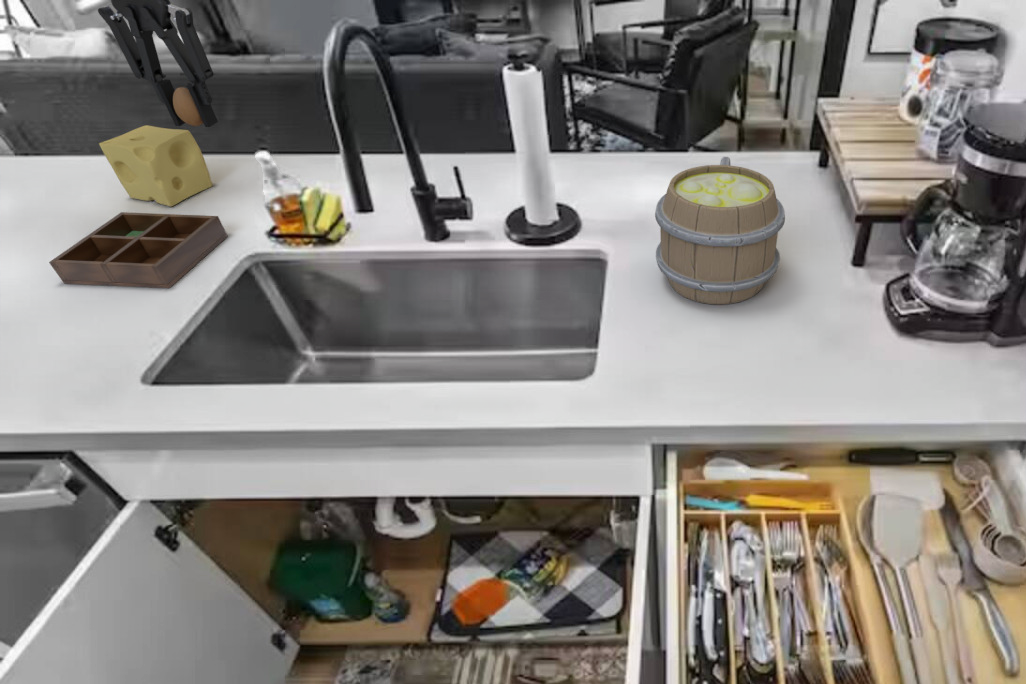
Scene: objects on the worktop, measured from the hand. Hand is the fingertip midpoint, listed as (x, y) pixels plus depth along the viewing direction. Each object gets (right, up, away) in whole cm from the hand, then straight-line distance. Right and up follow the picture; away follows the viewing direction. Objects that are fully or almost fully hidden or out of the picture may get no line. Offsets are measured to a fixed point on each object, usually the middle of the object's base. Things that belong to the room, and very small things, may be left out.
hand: (196, 123), depth 115 cm
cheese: (-10, -9, +9) cm, 16 cm away
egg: (0, 0, 0) cm, 0 cm away
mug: (+89, -28, -9) cm, 94 cm away
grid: (-1, -26, -9) cm, 27 cm away
